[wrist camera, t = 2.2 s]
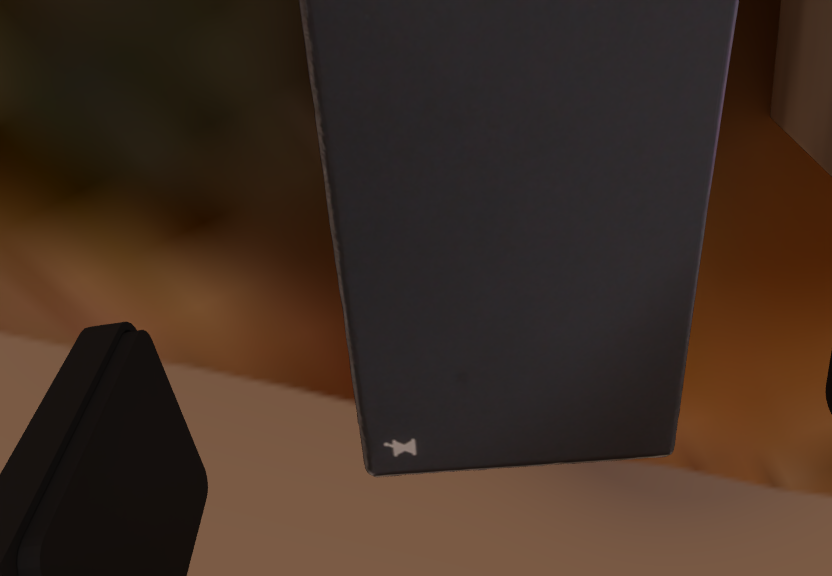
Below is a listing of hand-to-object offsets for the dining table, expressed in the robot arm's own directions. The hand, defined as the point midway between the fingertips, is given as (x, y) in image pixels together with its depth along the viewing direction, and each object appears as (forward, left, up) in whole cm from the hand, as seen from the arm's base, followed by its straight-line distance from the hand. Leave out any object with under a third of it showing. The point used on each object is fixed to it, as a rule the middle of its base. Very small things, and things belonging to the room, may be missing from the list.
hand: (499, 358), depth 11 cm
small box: (-1, 0, -13) cm, 13 cm away
